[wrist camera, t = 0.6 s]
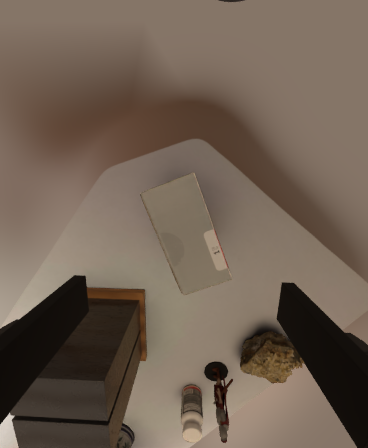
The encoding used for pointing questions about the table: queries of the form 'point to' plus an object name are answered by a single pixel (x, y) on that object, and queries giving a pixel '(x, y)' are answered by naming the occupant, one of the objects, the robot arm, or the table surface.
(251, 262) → the table surface
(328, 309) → the table surface
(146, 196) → the hard drive box
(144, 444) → the table surface
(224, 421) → the figurine
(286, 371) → the mineral specimen
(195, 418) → the pill bottle
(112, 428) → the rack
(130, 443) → the vase
